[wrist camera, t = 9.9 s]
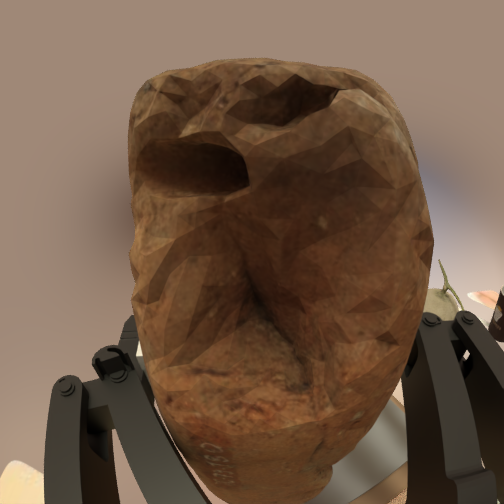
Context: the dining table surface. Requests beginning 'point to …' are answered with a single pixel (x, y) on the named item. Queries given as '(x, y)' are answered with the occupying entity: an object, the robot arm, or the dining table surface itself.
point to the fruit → (442, 301)
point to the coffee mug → (498, 319)
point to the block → (273, 266)
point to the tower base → (372, 464)
